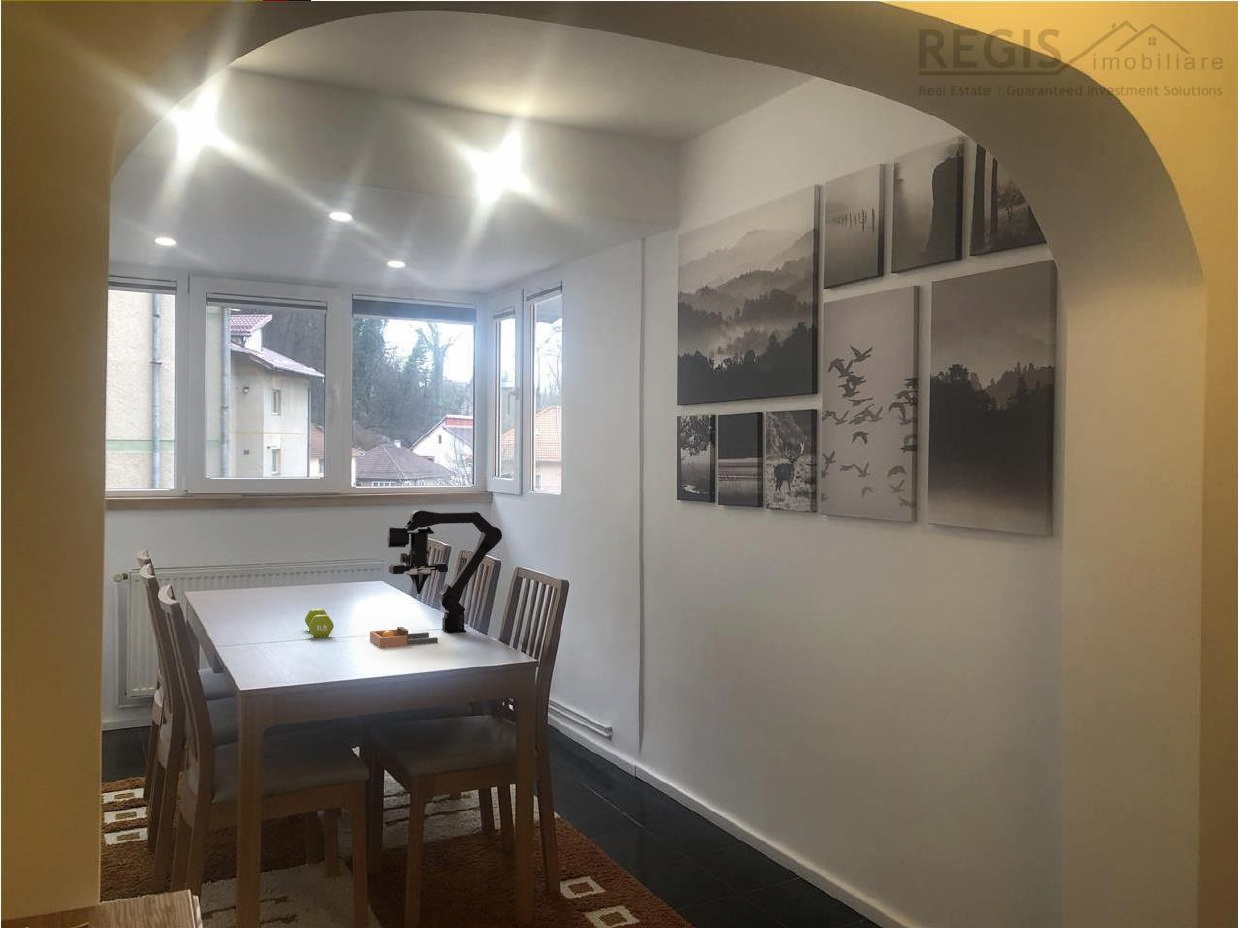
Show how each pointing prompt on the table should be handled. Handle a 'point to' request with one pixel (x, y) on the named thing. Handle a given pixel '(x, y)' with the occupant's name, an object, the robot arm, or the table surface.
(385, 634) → the ball
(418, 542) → the robot arm
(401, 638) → the pocket
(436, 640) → the track
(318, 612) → the dumbbell
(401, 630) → the brown wooden block
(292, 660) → the table surface
